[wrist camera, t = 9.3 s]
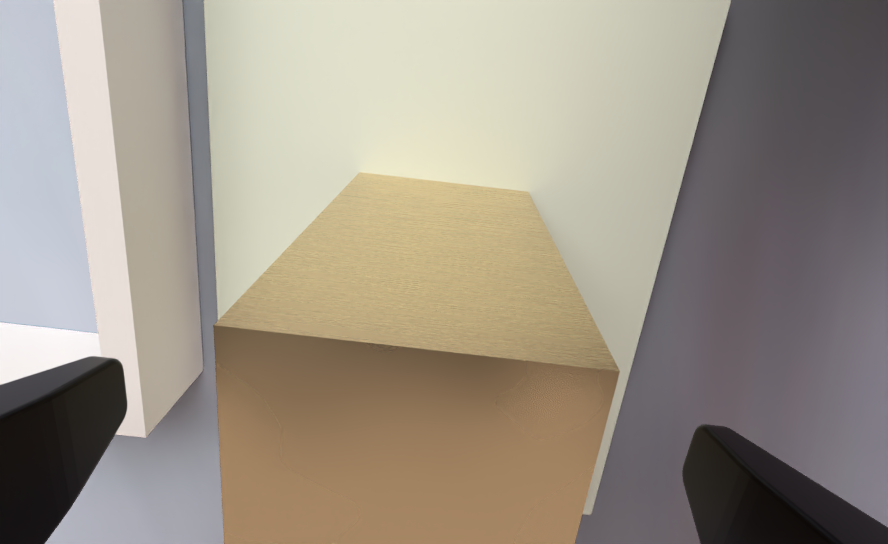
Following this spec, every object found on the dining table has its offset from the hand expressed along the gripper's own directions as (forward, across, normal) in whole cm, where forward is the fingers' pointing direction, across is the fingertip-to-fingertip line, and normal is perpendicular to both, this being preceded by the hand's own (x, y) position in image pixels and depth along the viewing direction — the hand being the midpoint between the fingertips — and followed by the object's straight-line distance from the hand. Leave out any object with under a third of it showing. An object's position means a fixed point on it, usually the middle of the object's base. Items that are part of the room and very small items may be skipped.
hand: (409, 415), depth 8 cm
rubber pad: (+6, 0, 0) cm, 6 cm away
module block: (+6, 0, 0) cm, 6 cm away
